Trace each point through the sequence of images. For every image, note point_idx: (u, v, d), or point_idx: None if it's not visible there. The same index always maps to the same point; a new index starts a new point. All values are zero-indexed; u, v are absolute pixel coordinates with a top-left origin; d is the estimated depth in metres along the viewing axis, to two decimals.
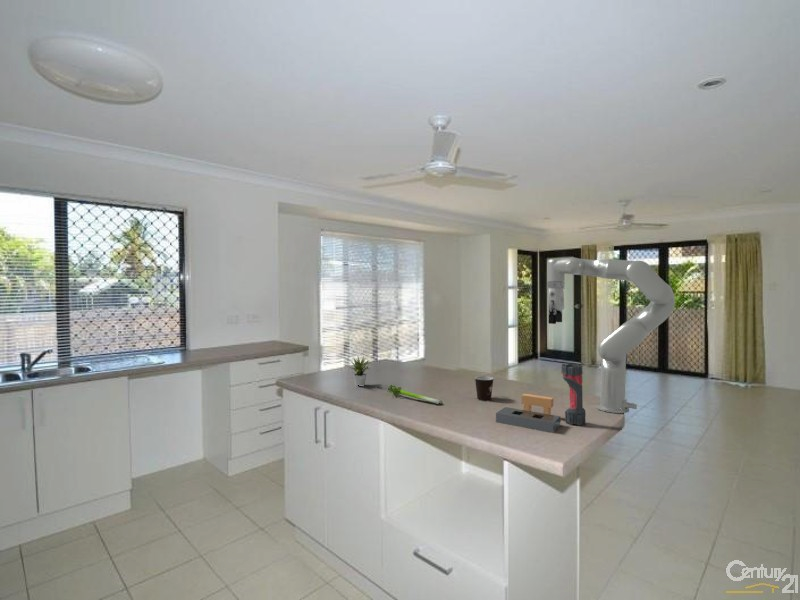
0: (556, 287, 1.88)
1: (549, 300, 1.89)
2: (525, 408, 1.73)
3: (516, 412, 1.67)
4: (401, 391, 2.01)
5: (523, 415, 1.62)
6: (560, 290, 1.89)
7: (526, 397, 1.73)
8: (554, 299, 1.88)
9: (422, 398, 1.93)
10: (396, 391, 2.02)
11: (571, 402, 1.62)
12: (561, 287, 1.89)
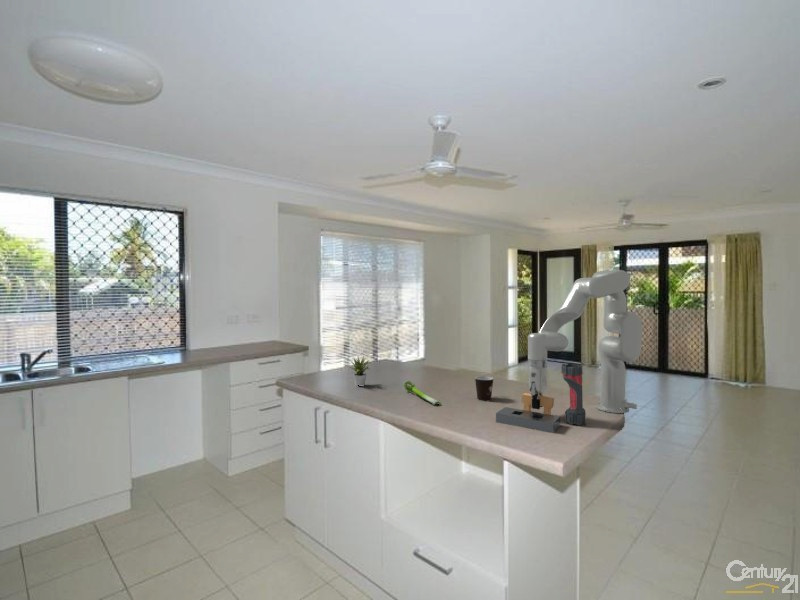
0: (538, 367, 1.68)
1: (530, 381, 1.69)
2: (525, 407, 1.73)
3: (516, 412, 1.67)
4: (413, 388, 2.06)
5: (523, 415, 1.62)
6: (542, 370, 1.69)
7: (526, 396, 1.73)
8: (535, 380, 1.67)
9: (424, 397, 1.95)
10: (409, 388, 2.08)
11: (571, 402, 1.62)
12: (543, 366, 1.68)
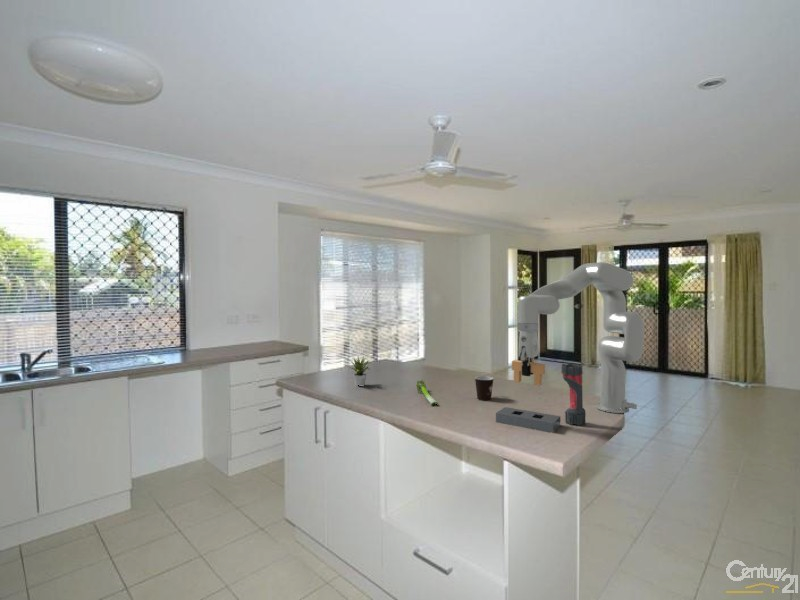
0: (528, 330, 1.58)
1: (520, 346, 1.58)
2: (515, 375, 1.63)
3: (516, 412, 1.67)
4: None
5: (523, 415, 1.62)
6: (533, 334, 1.58)
7: (516, 363, 1.63)
8: (526, 345, 1.57)
9: (426, 397, 1.95)
10: (419, 387, 2.10)
11: (571, 402, 1.62)
12: (534, 330, 1.58)
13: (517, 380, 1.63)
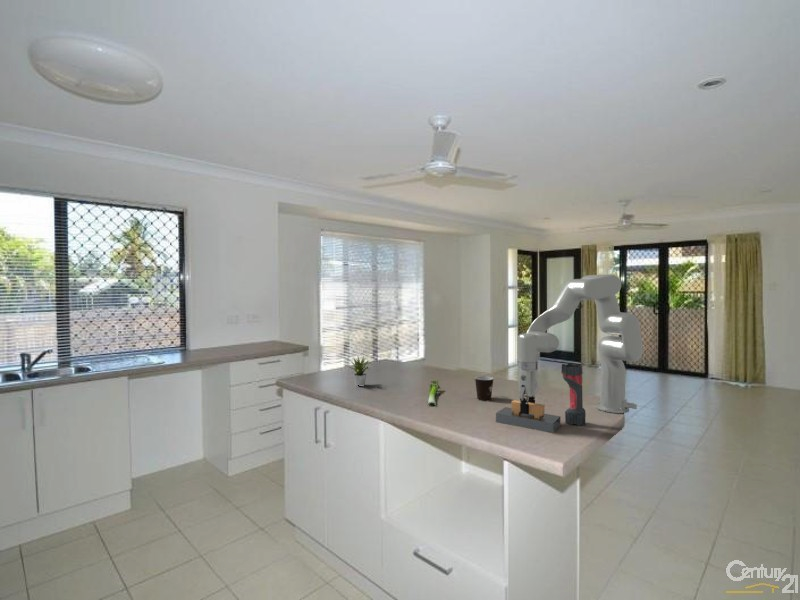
0: (528, 369, 1.58)
1: (520, 384, 1.59)
2: None
3: None
4: (432, 387, 2.08)
5: (523, 415, 1.62)
6: (533, 372, 1.59)
7: (516, 404, 1.63)
8: (525, 384, 1.57)
9: (429, 396, 1.96)
10: (430, 386, 2.11)
11: (571, 402, 1.62)
12: (534, 369, 1.58)
13: None
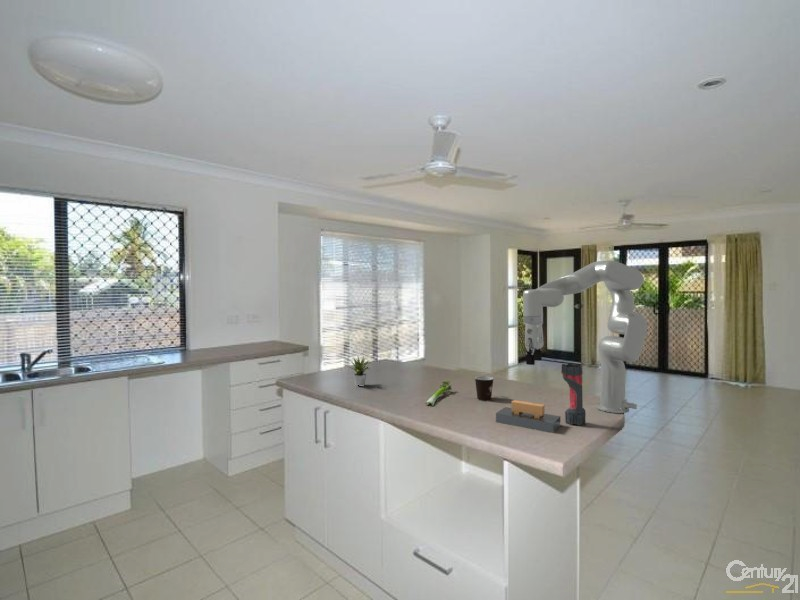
0: (533, 323, 1.65)
1: (526, 338, 1.65)
2: None
3: None
4: None
5: (523, 415, 1.62)
6: (538, 326, 1.65)
7: (516, 404, 1.63)
8: (532, 337, 1.64)
9: None
10: (440, 387, 2.10)
11: (571, 402, 1.62)
12: (539, 322, 1.65)
13: None
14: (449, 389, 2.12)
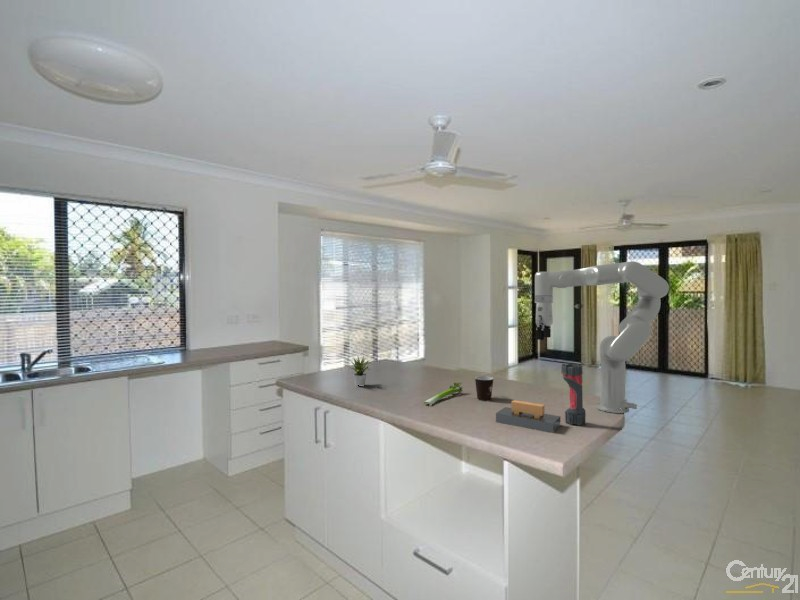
0: (544, 301, 1.81)
1: (537, 315, 1.81)
2: None
3: None
4: (449, 389, 2.05)
5: (523, 415, 1.62)
6: (548, 304, 1.81)
7: (516, 404, 1.63)
8: (542, 314, 1.80)
9: None
10: None
11: (571, 402, 1.62)
12: (549, 301, 1.81)
13: None
14: None
